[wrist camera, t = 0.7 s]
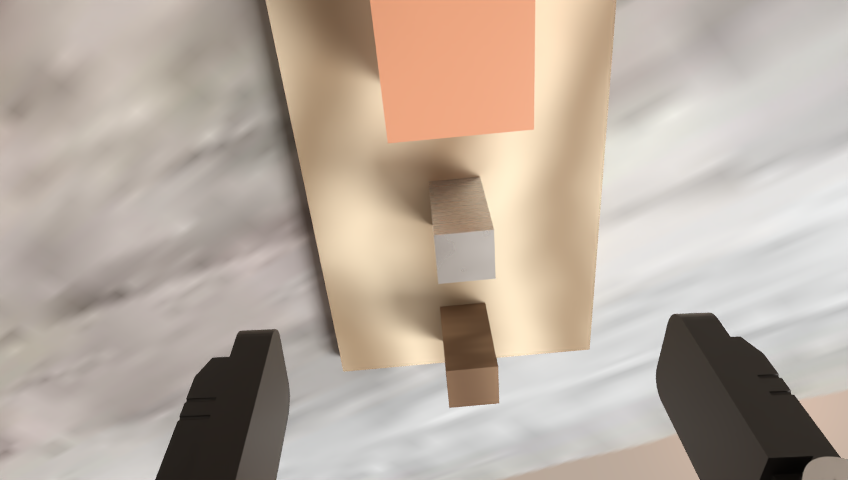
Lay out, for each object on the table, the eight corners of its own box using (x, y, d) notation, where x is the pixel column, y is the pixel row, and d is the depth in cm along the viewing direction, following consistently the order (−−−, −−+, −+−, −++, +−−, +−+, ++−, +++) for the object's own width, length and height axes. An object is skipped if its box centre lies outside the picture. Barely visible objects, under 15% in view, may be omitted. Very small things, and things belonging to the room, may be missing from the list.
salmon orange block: (504, -54, 25) (535, -29, 20) (506, 75, 28) (533, 129, 23) (374, -41, 25) (368, -13, 20) (389, 86, 28) (387, 143, 23)
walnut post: (485, 302, 35) (497, 366, 31) (486, 337, 36) (499, 403, 32) (439, 306, 35) (446, 371, 31) (443, 341, 36) (449, 407, 32)
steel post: (480, 176, 31) (494, 229, 26) (481, 221, 32) (495, 278, 28) (428, 181, 31) (433, 235, 26) (432, 225, 32) (438, 283, 28)
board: (615, -103, 26) (623, -101, 25) (584, 336, 38) (589, 349, 37) (257, -68, 26) (252, -65, 25) (344, 357, 38) (343, 371, 37)
